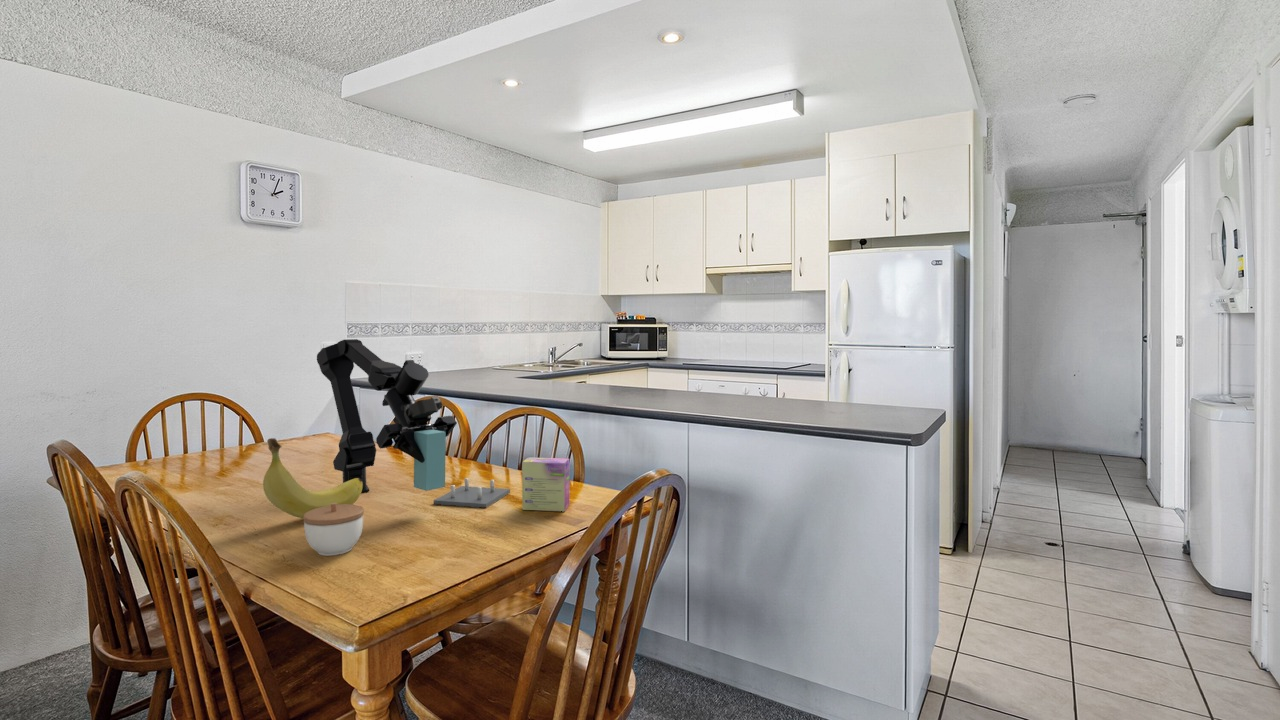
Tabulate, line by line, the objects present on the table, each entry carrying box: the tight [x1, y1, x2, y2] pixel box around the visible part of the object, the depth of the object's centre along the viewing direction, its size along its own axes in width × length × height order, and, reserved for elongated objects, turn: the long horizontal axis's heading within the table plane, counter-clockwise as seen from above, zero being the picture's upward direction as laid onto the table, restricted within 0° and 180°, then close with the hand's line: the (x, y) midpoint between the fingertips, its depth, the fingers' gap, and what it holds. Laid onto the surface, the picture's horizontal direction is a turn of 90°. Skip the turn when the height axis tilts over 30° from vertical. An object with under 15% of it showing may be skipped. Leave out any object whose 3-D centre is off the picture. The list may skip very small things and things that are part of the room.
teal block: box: [413, 430, 447, 492], centre depth 152 cm, size 5×5×13 cm
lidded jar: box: [302, 503, 365, 557], centre depth 128 cm, size 11×11×9 cm
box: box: [521, 456, 571, 513], centre depth 157 cm, size 10×6×12 cm, turn 84°
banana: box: [262, 437, 363, 519], centre depth 148 cm, size 23×6×20 cm, turn 146°
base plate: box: [432, 477, 511, 508], centre depth 165 cm, size 14×14×4 cm
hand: (433, 459), depth 151 cm, fingers closed on teal block, 5 cm apart
